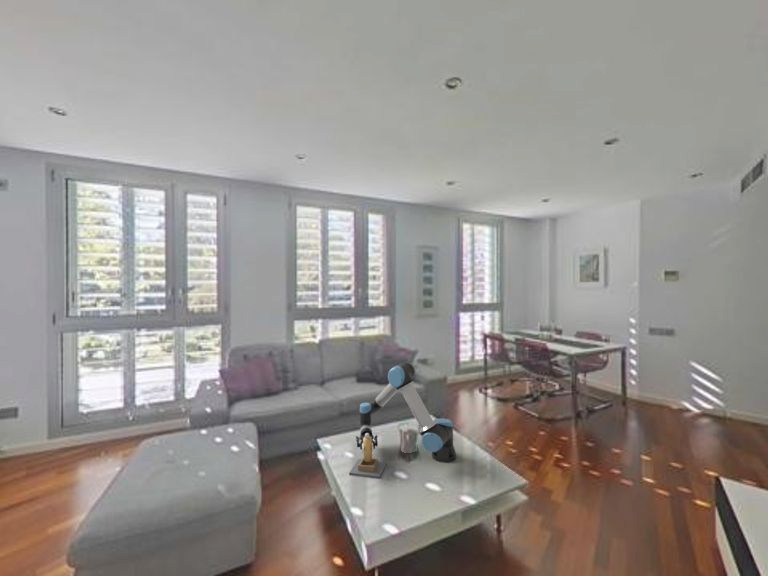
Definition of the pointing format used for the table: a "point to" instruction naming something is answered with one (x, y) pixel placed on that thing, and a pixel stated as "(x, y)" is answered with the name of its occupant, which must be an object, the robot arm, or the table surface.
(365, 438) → the yellow bottle
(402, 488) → the table surface
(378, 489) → the table surface
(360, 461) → the dock
